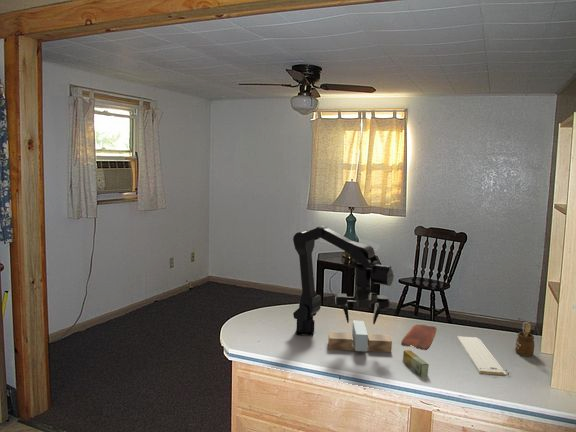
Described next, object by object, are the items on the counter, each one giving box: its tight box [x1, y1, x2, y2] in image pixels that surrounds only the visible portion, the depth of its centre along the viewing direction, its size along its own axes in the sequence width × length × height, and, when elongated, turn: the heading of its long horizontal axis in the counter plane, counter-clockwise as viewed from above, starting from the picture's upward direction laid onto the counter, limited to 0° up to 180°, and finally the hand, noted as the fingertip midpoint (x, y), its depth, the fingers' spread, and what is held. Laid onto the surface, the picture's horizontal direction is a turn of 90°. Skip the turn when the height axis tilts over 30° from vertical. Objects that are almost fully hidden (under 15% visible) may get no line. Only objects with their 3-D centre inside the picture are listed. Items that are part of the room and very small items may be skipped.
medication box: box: [402, 349, 429, 377], centre depth 154 cm, size 12×3×4 cm, turn 15°
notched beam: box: [327, 331, 393, 353], centre depth 169 cm, size 22×6×4 cm, turn 87°
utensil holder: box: [514, 321, 535, 357], centre depth 168 cm, size 6×6×12 cm
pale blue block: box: [351, 319, 369, 352], centre depth 169 cm, size 14×4×6 cm, turn 177°
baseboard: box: [456, 335, 510, 377], centre depth 166 cm, size 30×3×10 cm
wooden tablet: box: [400, 324, 437, 350], centre depth 182 cm, size 27×10×2 cm, turn 153°
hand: (360, 323), depth 168 cm, fingers open, 9 cm apart
